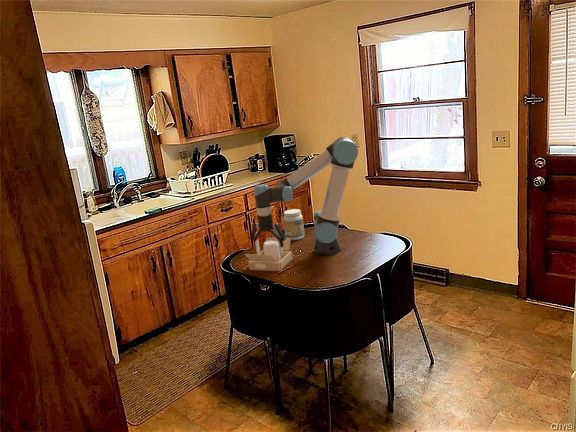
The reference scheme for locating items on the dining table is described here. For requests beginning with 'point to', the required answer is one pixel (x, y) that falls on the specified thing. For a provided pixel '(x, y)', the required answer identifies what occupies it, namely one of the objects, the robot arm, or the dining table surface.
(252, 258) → the front flap
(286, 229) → the supplement tub
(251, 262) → the carton
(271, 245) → the beverage can
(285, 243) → the back flap
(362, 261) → the dining table surface
